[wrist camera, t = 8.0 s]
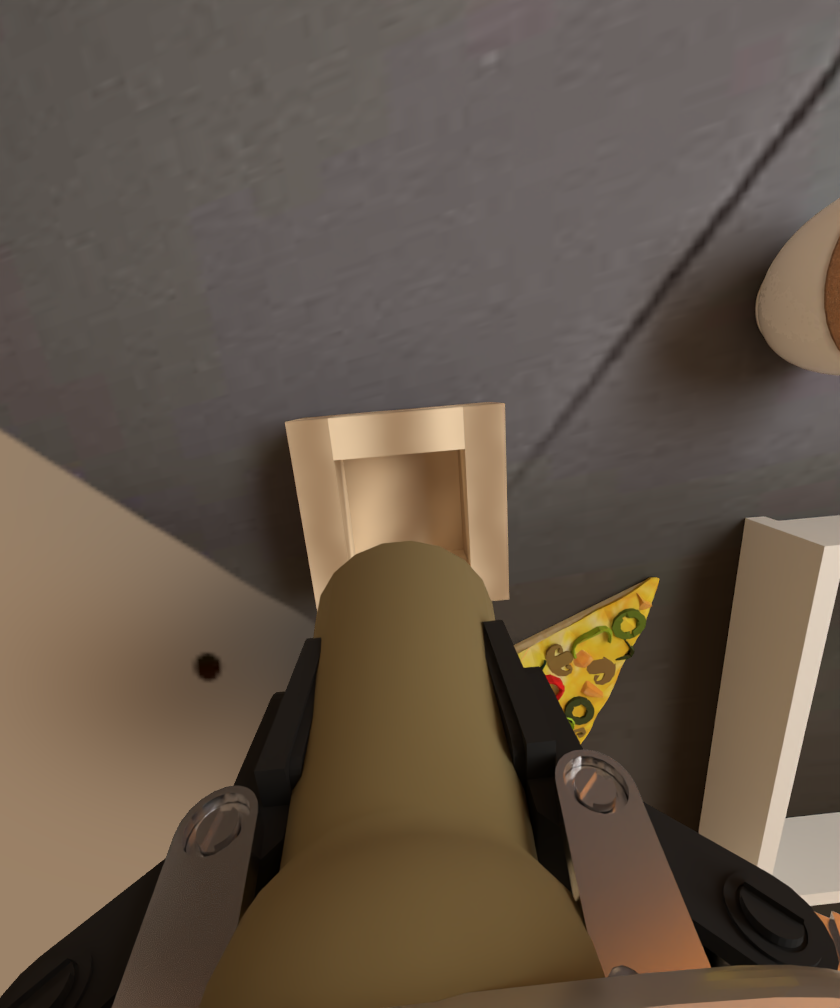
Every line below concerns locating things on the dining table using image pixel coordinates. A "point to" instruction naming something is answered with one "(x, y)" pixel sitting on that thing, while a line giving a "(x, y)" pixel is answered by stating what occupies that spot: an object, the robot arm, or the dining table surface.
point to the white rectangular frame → (774, 704)
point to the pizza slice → (589, 652)
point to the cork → (404, 815)
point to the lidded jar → (805, 296)
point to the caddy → (404, 486)
